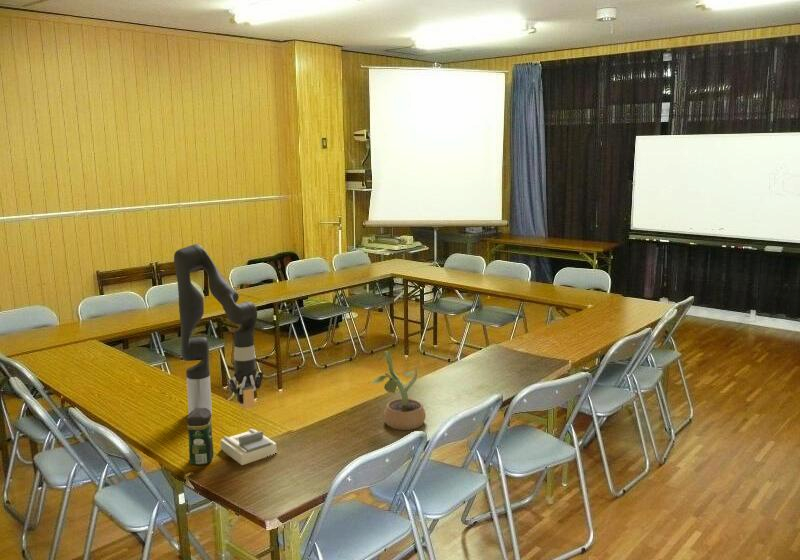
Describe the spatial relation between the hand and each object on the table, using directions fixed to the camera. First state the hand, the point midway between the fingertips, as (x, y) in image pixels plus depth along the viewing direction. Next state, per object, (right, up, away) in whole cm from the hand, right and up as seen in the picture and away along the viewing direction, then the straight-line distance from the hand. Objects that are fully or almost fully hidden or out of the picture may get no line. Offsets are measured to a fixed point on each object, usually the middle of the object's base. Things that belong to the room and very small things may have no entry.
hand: (246, 401), depth 251 cm
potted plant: (+56, -13, +26) cm, 63 cm away
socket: (+1, -18, -1) cm, 18 cm away
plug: (0, -2, 0) cm, 2 cm away
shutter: (+4, -15, -5) cm, 16 cm away
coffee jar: (-14, -20, -7) cm, 26 cm away
